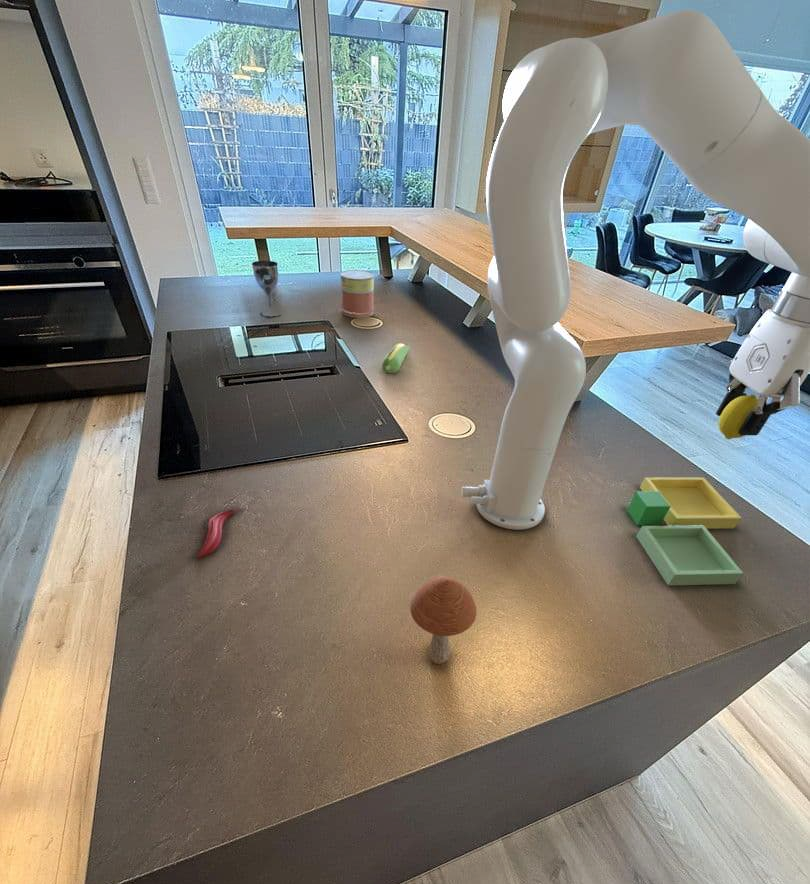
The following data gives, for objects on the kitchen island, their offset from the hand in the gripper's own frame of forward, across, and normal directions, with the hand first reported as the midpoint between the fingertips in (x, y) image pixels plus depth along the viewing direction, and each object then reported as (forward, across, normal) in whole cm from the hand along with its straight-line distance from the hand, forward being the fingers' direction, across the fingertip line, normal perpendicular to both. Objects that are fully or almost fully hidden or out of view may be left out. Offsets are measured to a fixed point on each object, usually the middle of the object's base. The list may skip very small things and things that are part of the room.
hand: (736, 423), depth 77 cm
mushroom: (+18, +31, -53) cm, 64 cm away
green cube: (+18, +3, -10) cm, 21 cm away
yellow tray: (+18, 0, 0) cm, 18 cm away
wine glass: (+18, -106, -93) cm, 142 cm away
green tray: (+18, +14, -8) cm, 24 cm away
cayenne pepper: (+18, +6, -87) cm, 89 cm away
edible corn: (+18, -66, -52) cm, 86 cm away
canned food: (+18, -110, -63) cm, 128 cm away
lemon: (+3, 0, 0) cm, 3 cm away
